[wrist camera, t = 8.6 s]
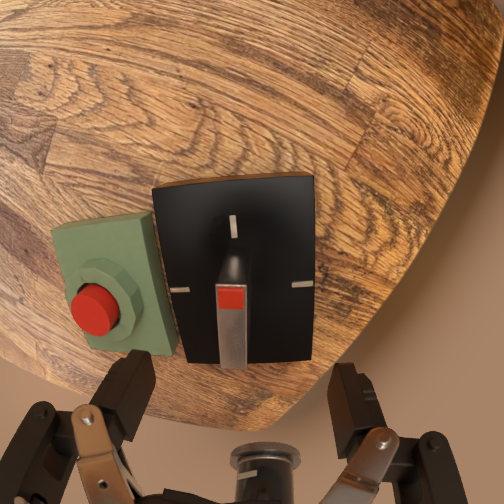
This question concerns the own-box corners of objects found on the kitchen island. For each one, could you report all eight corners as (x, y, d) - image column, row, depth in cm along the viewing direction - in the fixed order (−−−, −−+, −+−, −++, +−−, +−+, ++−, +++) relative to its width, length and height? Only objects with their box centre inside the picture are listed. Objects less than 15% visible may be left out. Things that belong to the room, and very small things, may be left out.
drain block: (179, 341, 24) (167, 370, 21) (99, 336, 25) (82, 360, 21) (151, 211, 20) (129, 225, 17) (64, 223, 21) (37, 237, 17)
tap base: (306, 337, 24) (311, 361, 21) (194, 341, 24) (187, 364, 21) (306, 171, 19) (314, 175, 16) (166, 182, 19) (150, 189, 17)
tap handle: (250, 321, 20) (246, 373, 15) (229, 320, 20) (220, 371, 15) (251, 248, 18) (246, 287, 13) (227, 247, 18) (214, 286, 13)
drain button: (125, 325, 20) (116, 338, 18) (90, 322, 20) (80, 334, 18) (112, 283, 19) (100, 295, 17) (76, 284, 19) (64, 294, 17)
